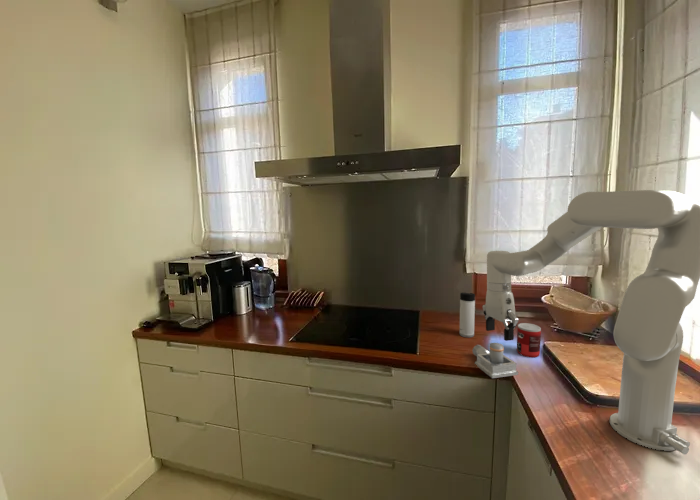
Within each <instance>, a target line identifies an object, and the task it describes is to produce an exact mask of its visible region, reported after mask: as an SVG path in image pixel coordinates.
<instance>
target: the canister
mask: <svg viewBox="0 0 700 500" xmlns="http://www.w3.org/2000/svg"><path fill="white" fill-rule="evenodd" d="M488 347H489V352H490V360H489V361H490V362H491V363H492V364H502V363H503V355H504V351H505V347H504V345H503V344H502V343H499V342H490V343H489V346H488Z"/></svg>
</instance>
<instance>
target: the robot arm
mask: <svg viewBox="0 0 700 500" xmlns="http://www.w3.org/2000/svg"><path fill="white" fill-rule="evenodd" d="M603 228H614V229H632V230H633V229H636V230H653V229H657V231H658V234H657V238H656V241H655V242H654V245H653V248H652V251H651V256H650V259H649V261H648V263H647V267H646V269H645V271H644V272H643V273H642V274H639V275H638V276H635V278H633V280H631V282H630V283H629V284H628V286H627V288H626V290H625V292H624V295H623V299H622V301H621V304H620V307H619V311H618V314H617V318H616V320H615V324H614V327H613V340H614V343H615V345H616V346H617V347H618V350H620V351H621V352H622V353H623V357H622V368H621V376H620V377H621V379H620V388H619V402H618V412H615V413H612V414H611V415H610V416H609V423H610V426H611V427H612V428H613V430H614V431H615V432H616V431H617V432H616V433H618V435H620V436H622V437H623V438H625V439H626V438H627V440H628V441H630V442H632V443H634V444H636V443H637V444H636V445H639V446H641V445H642V447H644V446H645V447H644V448H647V447H648V448H647V449H651V448H652V450H655V449H656V450H655V451H660V450H664V451H665V452H671V451H675V449H676V451H678V452H679V453H681V454H682V455H687V454H688V453H689V452H690V449H689V447H690V445H691V442H689V440H686V439H685V438H683V437H680V436H679V435H678V434H677V430H678V427H677V426H675V425H673V424H672V422H673V413H674V412H673V410H674V404H675V403H674V401H675V392H676V386H677V385H676V383H677V381H678V379H677V378H678V370H679V363H680V356H681V353H682V348H683V343H684V331H683V327H682V325H681V323H680V322H681V319H682V316H683V313H684V311H685V309H686V307H687V306H689V305H690V304H691V303H692V302H693V300H694V299H695V297H696V293H697V290H698V285H699V282H700V202H699V201H697V200H695V199H693V198H692V197H690V196H688V195H686V194H684V193H681V192H677V191H675V190H666V189H665V190H664V189H643V190H641V189H640V190H619V191H618V190H616V191H585V192H582V193H579V194H578V195H576V196H575V197H574V198H572V199H571V201H570V202H569V203H568V206H567V211H566V212H565V213H563V214H562V215H561V216H560V217H558V218H557V219H555V220H554V221H552V222H551V223H550V224H548V226H547V228H546V229H547V230H546V231H547V234H546V235H545V236H544V237H543V238H542V239H541V240H540V241H539V242H538V243H536V244H535V245H533V246H531V248H528V249H527V250H521V251H517V252H516V251H515V252H509V251H506V250H491V251H489V252H488V253H487V254H486V292H485V293H486V294H485V304H483V305H482V311H483V315H484V320H485V330H486V331H487V332H489V331H490V332H491V331H495V326H496V325H495V324H496V323H495V322H496V320H497V321H499V322H501V323H502V324H503V326H504V329H503V337H504V338H503V340H504V341H506V342H508V341H514V339H515V338H514V337H515V333H514V330H515V329H516V328H517V327H518V324H519V318H518V316H517V315H516V308H515V306H516V305H515V297H514V294H513V292H512V276H514V277H521V276H525V275H529V274H533V273H537V272H539V271H541V270H543V269H544V268H546V267H547V266H549V265H551V264H552V263H553V262H555V261H557V260H558V259H559V258H561V257H562V256H564V255H565V253H567V252H569V250H571V249H572V248H574V247H575V246H577V245H578V244H579V243H581V242H582V241H584V240H586V238H588V237H590V236H592V235H593V234H594V233H596V232H597V231H600V230H601V229H603ZM664 451H663V452H664Z"/></svg>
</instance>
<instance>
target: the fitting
mask: <svg viewBox="0 0 700 500" xmlns="http://www.w3.org/2000/svg"><path fill="white" fill-rule="evenodd" d="M472 354H473V355H474V356H475V357H476V361H475V362H474V365H475V364H476V365H477V368H479V369H480V370H481V371H482V372H484V373H485V374H486V375H487V376H489V377H490V379H497V378H498V379H499V378H503V377H504V378H505V377H514V376H518V375H519V371H518V370H517V362H516V361H513V360H512V359H511V358H509V357H508V356H506V355H505V354H503V363H502V364H492V363H491V362H490V361H489V360H490V350H488V349H486V348H485V347H484V346H482V345H481V344H476V345H474V346H473V347H472ZM476 365H475V366H476Z"/></svg>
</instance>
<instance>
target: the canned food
mask: <svg viewBox="0 0 700 500" xmlns="http://www.w3.org/2000/svg"><path fill="white" fill-rule="evenodd" d="M516 328H517V330H516V335H517V336H516V351H517V353H518V354H519V355H521V356H523V357H526V358H538V357H540V354H541V341H542V339H541V337H542V328H541V327H540V326H539V325H537V324H534V323H527V322H521V323H517V326H516Z"/></svg>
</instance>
